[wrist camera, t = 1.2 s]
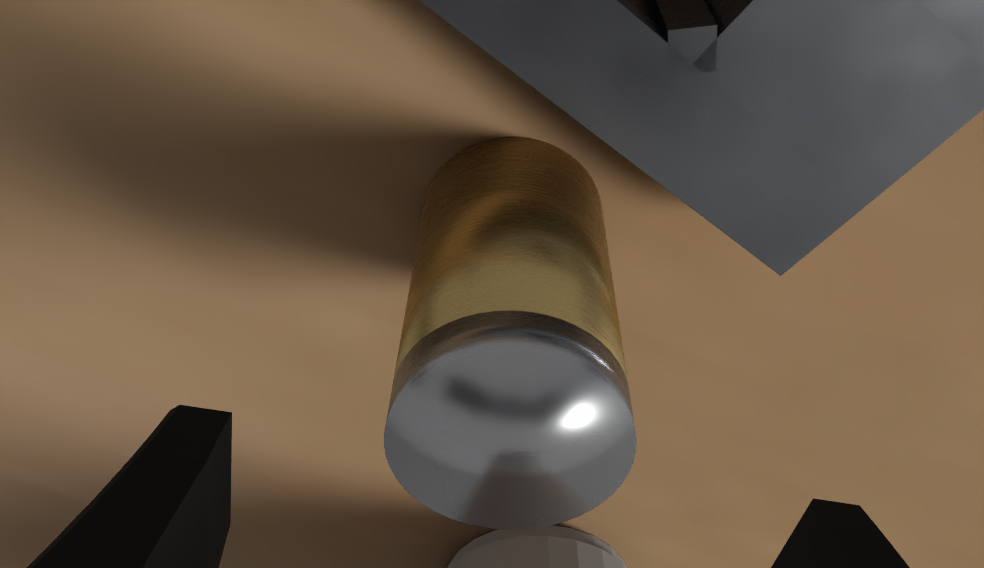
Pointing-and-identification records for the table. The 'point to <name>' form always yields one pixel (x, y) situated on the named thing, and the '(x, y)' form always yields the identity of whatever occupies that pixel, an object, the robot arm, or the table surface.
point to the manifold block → (750, 96)
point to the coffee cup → (537, 550)
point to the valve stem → (511, 345)
